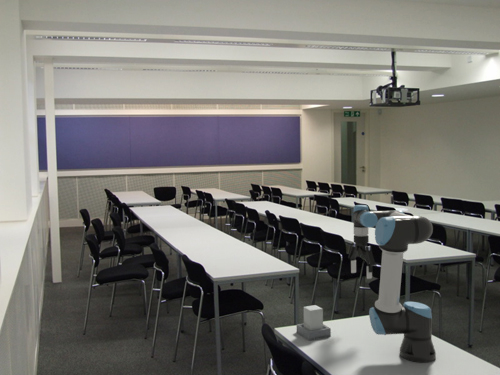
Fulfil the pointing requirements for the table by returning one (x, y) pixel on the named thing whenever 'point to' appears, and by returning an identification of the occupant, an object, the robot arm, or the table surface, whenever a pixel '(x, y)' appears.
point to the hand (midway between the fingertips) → (361, 275)
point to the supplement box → (313, 318)
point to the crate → (313, 332)
